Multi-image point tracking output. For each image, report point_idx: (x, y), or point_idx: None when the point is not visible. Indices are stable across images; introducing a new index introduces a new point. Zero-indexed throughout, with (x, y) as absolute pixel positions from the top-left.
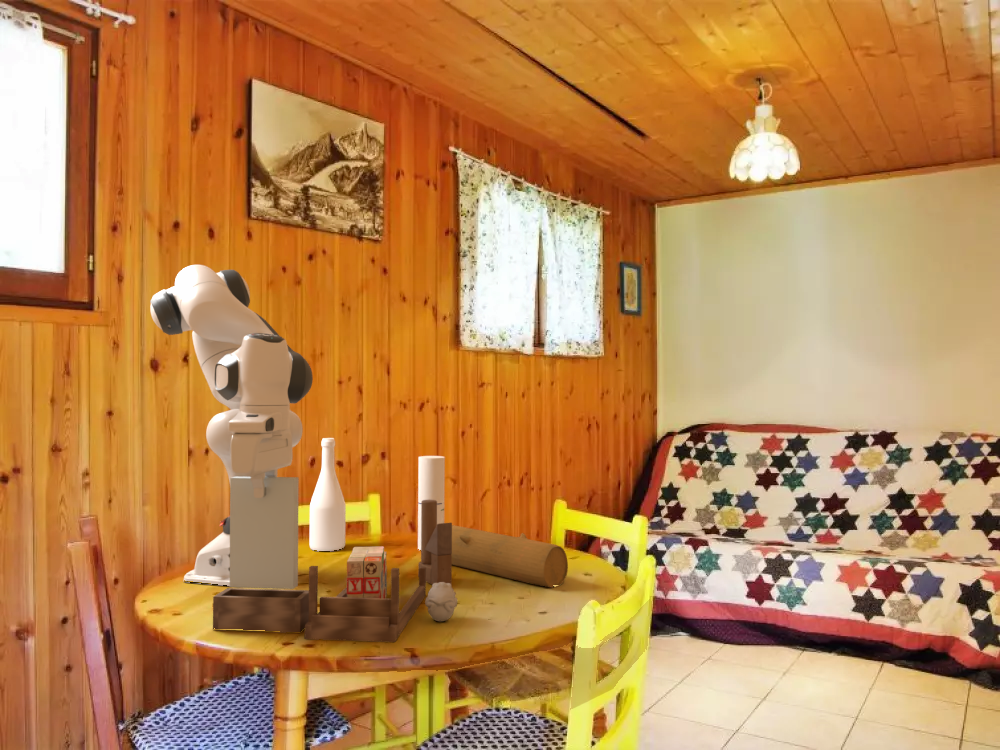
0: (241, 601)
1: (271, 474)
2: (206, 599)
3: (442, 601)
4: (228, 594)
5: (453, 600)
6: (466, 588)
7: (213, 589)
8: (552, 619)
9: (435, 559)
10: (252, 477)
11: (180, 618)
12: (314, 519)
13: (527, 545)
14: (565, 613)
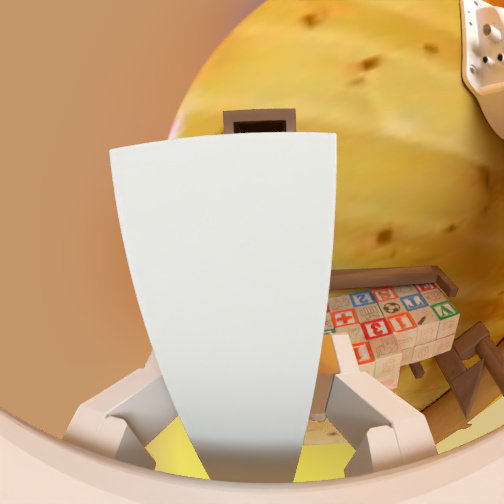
0: None
1: (351, 462)
2: (397, 39)
3: None
4: (273, 120)
5: None
6: (426, 376)
7: (446, 40)
8: (312, 439)
9: (452, 373)
10: (80, 424)
11: (286, 34)
12: None
13: (436, 437)
14: (328, 442)
